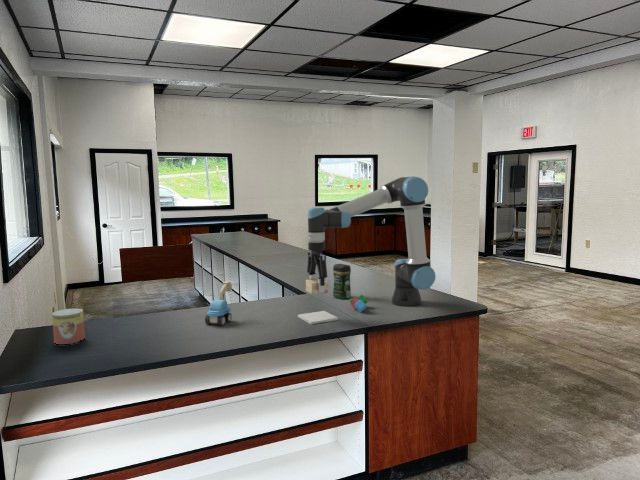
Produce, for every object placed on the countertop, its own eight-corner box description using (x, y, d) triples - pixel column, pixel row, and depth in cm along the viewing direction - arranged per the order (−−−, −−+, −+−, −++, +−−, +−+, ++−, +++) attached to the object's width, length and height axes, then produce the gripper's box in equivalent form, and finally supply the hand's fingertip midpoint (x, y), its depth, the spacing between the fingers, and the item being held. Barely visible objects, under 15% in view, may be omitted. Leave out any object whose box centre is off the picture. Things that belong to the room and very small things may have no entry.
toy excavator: (239, 317, 226) (238, 281, 224) (220, 327, 210) (219, 288, 208) (223, 315, 229) (221, 280, 227) (203, 325, 213) (202, 287, 211)
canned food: (52, 346, 187) (50, 316, 185) (55, 338, 197) (53, 310, 196) (84, 342, 191) (82, 313, 190) (86, 334, 201) (84, 307, 200)
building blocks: (361, 318, 238) (360, 309, 227) (350, 307, 241) (348, 298, 231) (372, 308, 239) (372, 299, 229) (361, 297, 243) (360, 287, 233)
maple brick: (321, 289, 225) (321, 278, 224) (328, 292, 218) (328, 281, 217) (305, 290, 222) (305, 279, 222) (311, 294, 215) (311, 283, 214)
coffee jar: (330, 297, 263) (330, 263, 260) (341, 295, 268) (341, 262, 266) (342, 300, 255) (342, 266, 253) (353, 298, 260) (353, 264, 258)
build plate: (324, 312, 231) (324, 310, 231) (338, 319, 218) (338, 317, 218) (297, 316, 224) (297, 314, 224) (310, 324, 212) (310, 322, 212)
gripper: (299, 239, 225) (300, 287, 228) (319, 244, 206) (320, 296, 209) (313, 238, 228) (314, 285, 231) (334, 243, 210) (335, 294, 212)
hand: (317, 290), depth 220 cm, fingers closed on maple brick, 8 cm apart
